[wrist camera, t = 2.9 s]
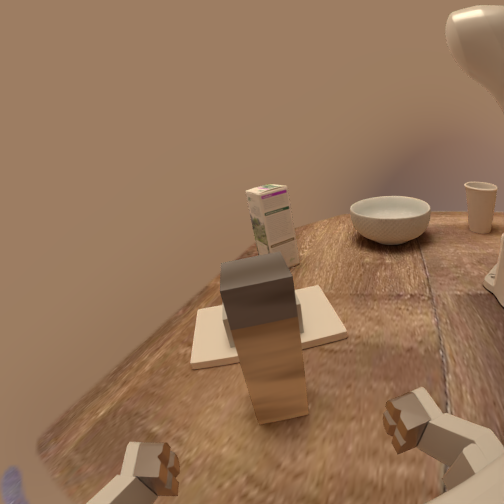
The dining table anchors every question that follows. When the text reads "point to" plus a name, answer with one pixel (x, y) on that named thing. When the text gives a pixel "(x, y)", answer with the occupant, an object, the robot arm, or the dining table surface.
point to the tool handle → (266, 334)
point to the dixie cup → (480, 205)
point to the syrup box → (273, 222)
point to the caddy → (222, 344)
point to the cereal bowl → (390, 218)
